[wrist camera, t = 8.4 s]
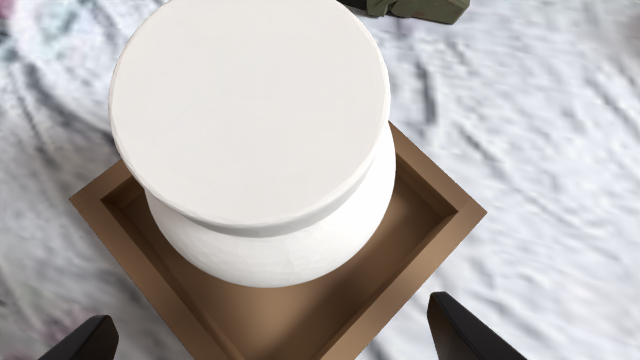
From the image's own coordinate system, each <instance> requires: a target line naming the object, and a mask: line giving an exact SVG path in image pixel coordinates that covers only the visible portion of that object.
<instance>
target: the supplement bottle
mask: <svg viewBox="0 0 640 360" xmlns="http://www.w3.org/2000/svg"><path fill="white" fill-rule="evenodd" d="M390 100H391V98H390V85H389V77H388V72H387V68H386V65H385V63H384V60H383V57H382V55H381V52H380V50H379V48H378V46H377V44H376V42H375V41H374V39H373V37H372V36H371V34H370V32H369V31H368V30H367V28H366V27H365V26H364V25H363V24H362V22H361V21H360V20H359V19H358V18H357V17H356V16H355V15H354V14H353V13H352V12H350V11H349V10H348V9H347V8H346V7H345V6H344V5H342V4H341V3H339V2H338V1H336V0H170V1H168V2H167V3H165V4H164V5H162V6H161V7H160V8H158V9H157V10H156V11H155V12H153V13H152V14H151V15H150V16H149V17H148V18H147V19H146V20H145V21H144V22H143V23H142V24H141V25H140V26H139V27H138V29H137V30H136V31H135V32H134V34H133V35H132V36H131V38H130V39H129V41H128V42H127V44H126V46H125V47H124V49H123V51H122V53H121V55H120V57H119V59H118V62H117V64H116V67H115V69H114V72H113V76H112V80H111V85H110V91H109V107H108V109H109V120H110V125H111V131H112V135H113V137H114V141H115V144H116V148H117V150H118V152H119V154H120V156H121V158H122V159H123V161H124V163H125V165H126V166H127V168H128V169H129V171H130V172H131V173H132V175H133V176H134V177H135V179H136V180H137V181H138V182H139V183H140V184H141V186H142V187H143V188H144V190H145V194H146V198H147V201H148V204H149V208H150V211H151V213H152V215H153V217H154V219H155V222H156V224H157V225H158V227H159V229H160V230H161V232H162V233H163V235H164V236H165V237H166V239H167V240H168V241H169V242H170V244H171V245H172V246H173V247H174V248H175V249H176V250H177V251H178V252H179V253H180V254H181V255H182V256H183V257H184V258H185V259H186V260H188V261H189V262H190V263H192V264H193V265H195V266H196V267H198V268H199V269H201V270H202V271H204V272H206V273H208V274H210V275H212V276H214V277H217V278H219V279H221V280H224V281H227V282H230V283H233V284H238V285H243V286H249V287H258V288H276V287H285V286H291V285H296V284H300V283H304V282H307V281H310V280H313V279H316V278H318V277H321V276H323V275H325V274H327V273H329V272H331V271H333V270H335V269H336V268H338V267H339V266H341V265H342V264H344V263H345V262H346V261H348V260H349V259H350V258H351V257H353V256H354V255H355V254H356V253H357V252H358V251H359V250H360V249H361V248H362V247H363V246H364V245H365V244H366V242H367V241H368V240H369V239H370V237H371V236H372V235H373V233H374V232H375V230H376V229H377V227H378V226H379V224H380V222H381V220H382V218H383V216H384V214H385V212H386V209H387V207H388V204H389V202H390V199H391V195H392V191H393V187H394V180H395V170H396V158H395V148H394V142H393V138H392V133H391V130H390V127H389V124H388V118H389V112H390Z"/></svg>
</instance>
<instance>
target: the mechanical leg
mask: <svg viewBox="0 0 640 360" xmlns="http://www.w3.org/2000/svg"><path fill="white" fill-rule="evenodd" d="M336 1H338V2H339V3H343V4H346V5H349V6H353V7H356V8H359V9H363V10H365V8H366V6H367V12H368V15H374V16H382V17H384V15H385V14H386V12H387V11H391V12H392V13H393V14H394V15H397V16H401V17H406V18H409V17H410V16H412V17H417V18H423V19H428V20H433V21H439V22H444V23H449V24H454V23H455V22H456V21H457V20H458V18H459V17H460V16H461V15H462V14H463V13H464V11H465V10H466V9H467V8H468V7H469V4H470V0H336ZM395 1H396V2H395Z"/></svg>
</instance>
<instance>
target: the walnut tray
mask: <svg viewBox="0 0 640 360" xmlns="http://www.w3.org/2000/svg"><path fill="white" fill-rule="evenodd" d="M388 124H389V127H390V130H391V133H392V138H393V142H394V148H395V158H396V170H395V180H394V187H393V191H392V195H391V199H390V202H389V204H388V207H387V209H386V212H385V214H384V216H383V218H382V220H381V222H380V224H379V226H378V227H377V229H376V230H375V232H374V233H373V235H372V236H371V237H370V239H369V240H368V241H367V242H366V244H365V245H364V246H363V247H362V248H361V249H360V250H359V251H358V252H357V253H356V254H355V255H354V256H353V257H351V258H350V259H349V260H348V261H346V262H345V263H344V264H342V265H341V266H339V267H338V268H336V269H335V270H333V271H331V272H329V273H327V274H325V275H323V276H321V277H318V278H316V279H313V280H310V281H307V282H304V283H300V284H296V285H291V286H285V287H276V288H258V287H249V286H243V285H238V284H233V283H230V282H227V281H224V280H221V279H219V278H217V277H214V276H212V275H210V274H208V273H206V272H204V271H202V270H201V269H199V268H198V267H196V266H195V265H193V264H192V263H190V262H189V261H188V260H186V259H185V258H184V257H183V256H182V255H181V254H180V253H179V252H178V251H177V250H176V249H175V248H174V247H173V246H172V245H171V244H170V242H169V241H168V240H167V239H166V237H165V236H164V235H163V233H162V232H161V230H160V229H159V227H158V225H157V224H156V222H155V219H154V217H153V215H152V213H151V211H150V208H149V204H148V201H147V198H146V194H145V190H144V188H143V187H142V186H141V184H140V183H139V182H138V181H137V180H136V179H135V177H134V176H133V175H132V173H131V172H130V171H129V169H128V168H127V166H126V165H125V163H124V161H123V159H121V160H120V161H118V162H117V163H116V164H114V165H113V166H112V167H110V168H109V169H108V170H106V171H105V172H104V173H102V174H101V175H100V176H98V177H97V178H96V179H94V180H93V181H92V182H90V183H89V184H88V185H86V186H85V187H84V188H82V189H81V190H80V191H78V192H77V193H76V194H74V195H73V196H72V197H70V198H69V200H70V201H71V203H72V204H73V205H74V207H75V208H76V209H77V210H78V212H79V213H80V214H81V215H82V217H83V218H84V219H85V221H86V222H87V223H88V224H89V226H90V227H91V228H92V229H93V231H94V232H95V233H96V235H97V236H98V237H99V238H100V240H101V241H102V242H103V243H104V245H105V246H106V247H107V248H108V250H109V251H110V252H111V254H112V255H113V256H114V257H115V259H116V260H117V261H118V262H119V264H120V265H121V266H122V268H123V269H124V270H125V271H126V273H127V274H128V275H129V276H130V278H131V279H132V280H133V282H134V283H135V284H136V285H137V287H138V288H139V289H140V290H141V292H142V293H143V294H144V296H145V297H146V298H147V299H148V301H149V302H150V303H151V304H152V306H153V307H154V308H155V310H156V311H157V312H158V313H159V315H160V316H161V317H162V318H163V320H164V321H165V322H166V324H167V325H168V326H169V327H170V329H171V330H172V331H173V332H174V334H175V335H176V336H177V338H178V339H179V340H180V341H181V343H182V344H183V345H184V346H185V348H186V349H187V350H188V352H189V353H190V354H191V355H192V357H193V358H194V359H195V360H354V359H355V358H356V357H357V356H358V355H359V354H360V353H361V352H362V350H363V349H364V348H365V347H366V346H367V345H368V344H369V343H370V342H371V341H372V339H373V338H374V337H375V336H376V335H377V334H378V333H379V332H380V331H381V330H382V328H383V327H384V326H385V325H386V324H387V323H388V322H389V321H390V320H391V319H392V317H393V316H394V315H395V314H396V313H397V312H398V311H399V310H400V309H401V308H402V306H403V305H404V304H405V303H406V302H407V301H408V300H409V299H410V298H411V296H412V295H413V294H414V293H415V292H416V291H417V290H418V289H419V288H420V287H421V285H422V284H423V283H424V282H425V281H426V280H427V279H428V278H429V277H430V276H431V274H432V273H433V272H434V271H435V270H436V269H437V268H438V267H439V266H440V265H441V263H442V262H443V261H444V260H445V259H446V258H447V257H448V256H449V255H450V253H451V252H452V251H453V250H454V249H455V248H456V247H457V246H458V245H459V244H460V242H461V241H462V240H463V239H464V238H465V237H466V236H467V235H468V234H469V233H470V231H471V230H472V229H473V228H474V227H475V226H476V225H477V224H478V223H479V222H480V220H481V219H482V218H483V217H484V216H485V215H486V214H487V213H488V212H487V211H486V210H485V209H483V208H482V207H481V206H480V205H479V204H478V203H477V202H476V201H475V200H474V199H473V198H472V197H471V196H469V195H468V194H467V193H466V192H465V191H464V190H463V189H462V188H461V187H460V186H459V185H458V184H457V183H455V182H454V181H453V180H452V179H451V178H450V177H449V176H448V175H447V174H446V173H445V172H444V171H443V170H441V169H440V168H439V167H438V166H437V165H436V164H435V163H434V162H433V161H432V160H431V159H430V158H429V157H427V156H426V155H425V154H424V153H423V152H422V151H421V150H420V149H419V148H418V147H417V146H416V145H415V144H414V143H412V142H411V141H410V140H409V139H408V138H407V137H406V136H405V135H404V134H403V133H402V132H401V131H400V130H398V129H397V128H396V127H395V126H394V125H393V124H392V123H391V122H390V121H389V120H388Z"/></svg>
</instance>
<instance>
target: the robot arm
mask: <svg viewBox="0 0 640 360" xmlns="http://www.w3.org/2000/svg"><path fill="white" fill-rule="evenodd" d="M427 319H428V323H429V326H430V330H431V333H432V337H433V340H434V344H435V347H436V351H437V354H438V358H439V360H527V359H526V358H525V357H524V356H523V355H521V354H520V353H519V352H518V351H517V350H515V349H514V348H513V347H512V346H511V345H509V344H508V343H507V342H506V341H505V340H503V339H502V338H501V337H500V336H499V335H497V334H496V333H495V332H494V331H493V330H491V329H490V328H489V327H488V326H487V325H485V324H484V323H483V322H482V321H481V320H479V319H478V318H477V317H476V316H475V315H473V314H472V313H471V312H470V311H469V310H467V309H466V308H465V307H464V306H462V305H461V304H460V303H459V302H458V301H456V300H455V299H454V298H453V297H452V296H450V295H449V294H448V293H446V292H433V293H431V295H430V299H429V304H428V309H427ZM118 341H119V335H118V332H117V330H116V327H115V325H114V323H113V321H112V318H111V317H110V316H109V315H96V316H92V317H90V318H89V319H88V320H86V321H85V322H84V323H83V324H81V325H80V326H79V327H78V328H76V329H75V330H74V331H73V332H71V333H70V334H69V335H68V336H66V337H65V338H64V339H63V340H61V341H60V342H59V343H58V344H56V345H55V346H54V347H53V348H51V349H50V350H49V351H48V352H46V353H45V354H44V355H43V356H41V357H40V358H39V359H38V360H113V359H114V355H115V352H116V349H117V346H118Z"/></svg>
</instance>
